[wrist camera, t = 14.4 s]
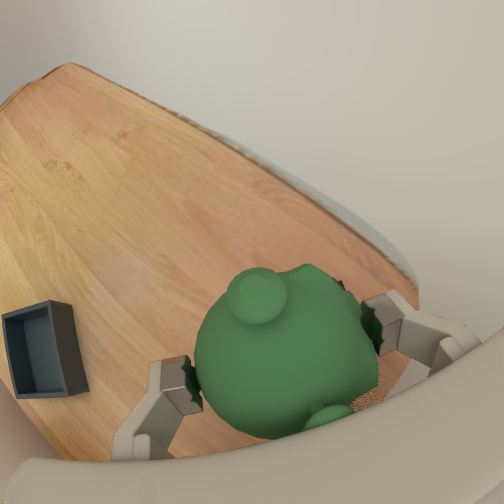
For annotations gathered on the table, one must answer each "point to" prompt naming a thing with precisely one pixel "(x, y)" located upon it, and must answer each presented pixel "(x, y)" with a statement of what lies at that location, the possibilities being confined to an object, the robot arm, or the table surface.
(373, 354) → the alien toy
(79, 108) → the table surface
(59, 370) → the crate
